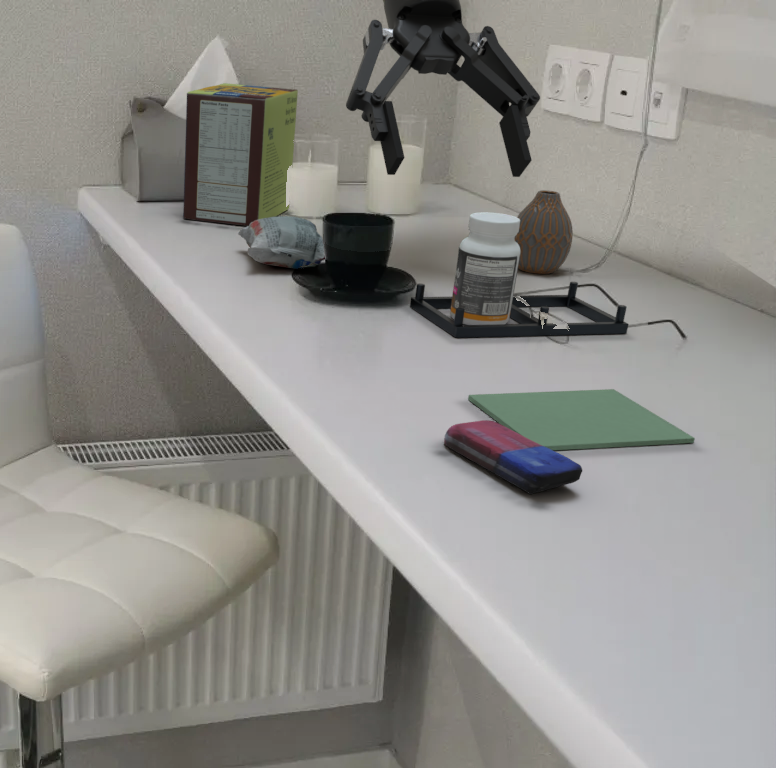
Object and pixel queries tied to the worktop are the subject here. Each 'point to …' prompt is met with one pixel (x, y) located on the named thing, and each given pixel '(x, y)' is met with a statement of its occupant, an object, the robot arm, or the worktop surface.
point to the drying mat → (579, 419)
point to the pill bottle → (487, 269)
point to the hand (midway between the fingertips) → (460, 167)
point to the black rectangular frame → (522, 317)
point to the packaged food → (284, 242)
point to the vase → (544, 234)
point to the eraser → (512, 456)
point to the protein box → (238, 152)
